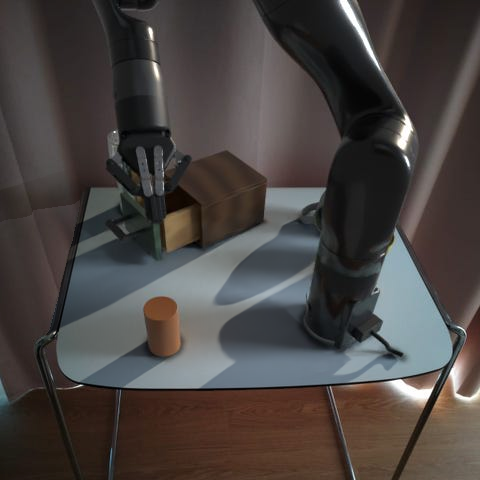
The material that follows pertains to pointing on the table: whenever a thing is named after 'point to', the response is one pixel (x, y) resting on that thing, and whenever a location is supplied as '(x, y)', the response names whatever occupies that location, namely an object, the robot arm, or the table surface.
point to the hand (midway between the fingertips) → (156, 223)
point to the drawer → (159, 235)
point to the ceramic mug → (317, 214)
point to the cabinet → (223, 195)
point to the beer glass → (112, 147)
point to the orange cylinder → (162, 326)
